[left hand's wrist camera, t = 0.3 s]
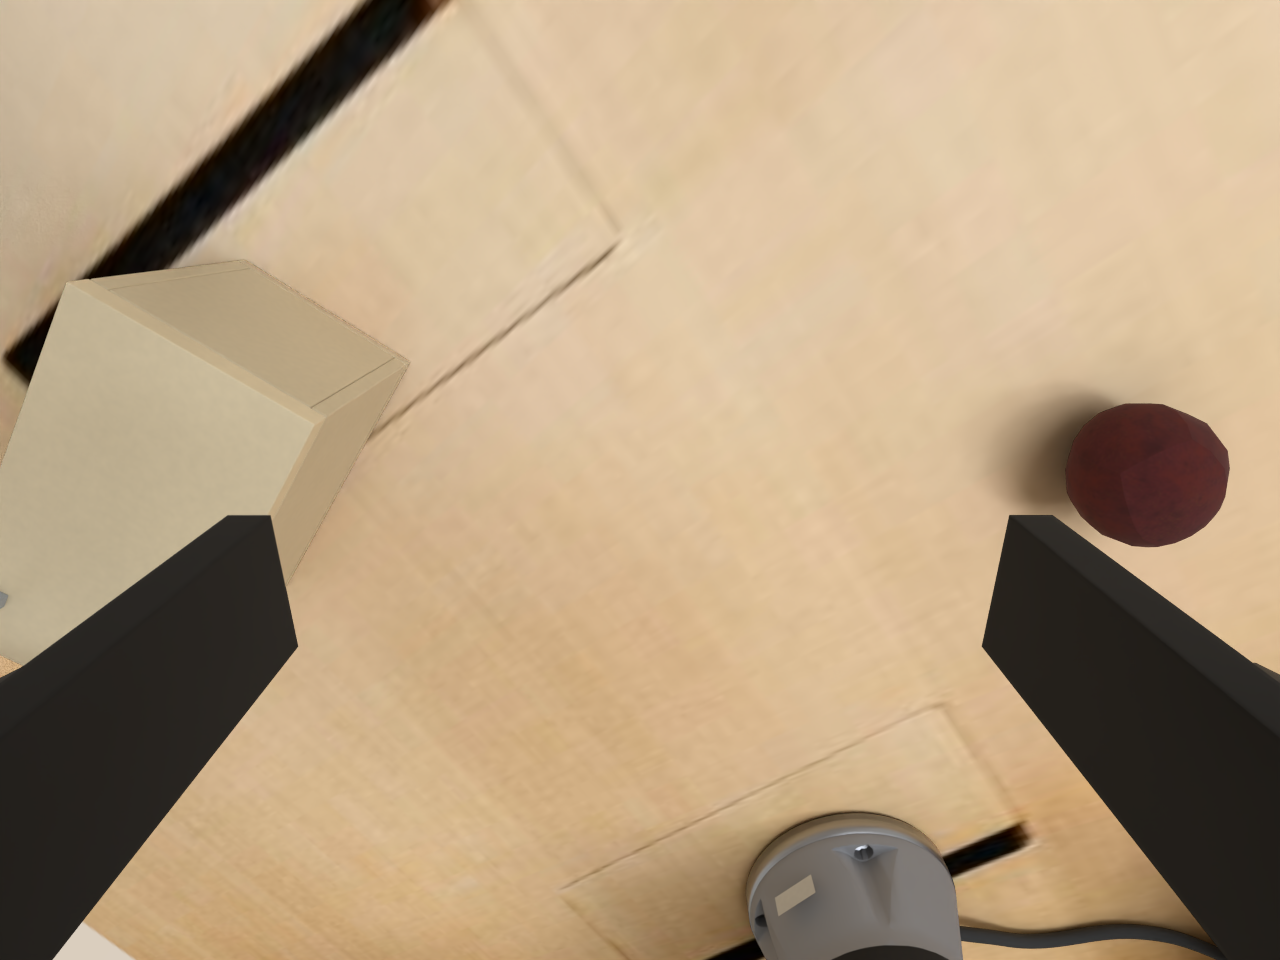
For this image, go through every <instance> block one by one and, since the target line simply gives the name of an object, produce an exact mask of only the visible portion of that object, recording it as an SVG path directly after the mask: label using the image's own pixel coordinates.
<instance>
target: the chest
mask: <svg viewBox="0 0 1280 960" xmlns="http://www.w3.org/2000/svg"><path fill="white" fill-rule="evenodd" d="M91 281H93V282H94V283H96V284H98V285H100V286H101V287H103V288H105V289H106V290H108V291H110V292H112V293H113V294H115V295H117V296H118V297H120V298H122V299H124V300H125V301H127V302H129V303H131V304H132V305H134V306H136V307H137V308H139V309H141V310H143V311H144V312H146V313H148V314H149V315H151V316H153V317H155V318H156V319H158V320H160V321H161V322H163V323H165V324H167V325H168V326H170V327H172V328H173V329H175V330H177V331H179V332H180V333H182V334H184V335H185V336H187V337H189V338H191V339H192V340H194V341H196V342H198V343H199V344H201V345H203V346H204V347H206V348H208V349H210V350H211V351H213V352H215V353H216V354H218V355H220V356H222V357H223V358H225V359H227V360H228V361H230V362H232V363H234V364H235V365H237V366H239V367H240V368H242V369H244V370H246V371H247V372H249V373H251V374H253V375H254V376H256V377H258V378H259V379H261V380H263V381H265V382H266V383H268V384H270V385H271V386H273V387H275V388H277V389H278V390H280V391H282V392H283V393H285V394H287V395H289V396H290V397H292V398H294V399H295V400H297V401H299V402H301V403H302V404H304V405H306V406H308V407H309V408H311V409H313V410H314V411H316V412H318V413H320V414H321V415H323V416H325V417H326V418H325V421H324V422H323V424H322V426H321V428H320V430H319V432H318V434H317V436H316V438H315V440H314V442H313V443H312V445H311V447H310V449H309V451H308V453H307V455H306V457H305V459H304V461H303V463H302V464H301V466H300V468H299V470H298V472H297V474H296V476H295V478H294V480H293V482H292V484H291V485H290V487H289V489H288V491H287V493H286V495H285V497H284V499H283V501H282V503H281V505H280V506H279V508H278V510H277V512H276V514H275V516H274V518H273V520H272V524H273V529H274V534H275V538H276V543H277V548H278V553H279V557H280V562H281V567H282V572H283V577H284V581H285V586H287V585H288V583H289V581H290V579H291V577H292V576H293V574H294V572H295V570H296V568H297V566H298V565H299V563H300V561H301V559H302V557H303V556H304V554H305V552H306V550H307V548H308V547H309V545H310V543H311V541H312V539H313V538H314V536H315V534H316V532H317V530H318V528H319V527H320V525H321V523H322V521H323V519H324V518H325V516H326V514H327V512H328V510H329V509H330V507H331V505H332V503H333V501H334V500H335V498H336V496H337V494H338V492H339V490H340V489H341V487H342V485H343V483H344V481H345V480H346V478H347V476H348V474H349V472H350V471H351V469H352V467H353V465H354V463H355V461H356V460H357V458H358V456H359V454H360V452H361V451H362V449H363V447H364V445H365V443H366V442H367V440H368V438H369V436H370V434H371V433H372V431H373V429H374V427H375V425H376V423H377V422H378V420H379V418H380V416H381V414H382V413H383V411H384V409H385V407H386V405H387V404H388V402H389V400H390V398H391V396H392V395H393V393H394V391H395V389H396V387H397V385H398V384H399V382H400V380H401V378H402V376H403V375H404V373H405V371H406V369H407V367H408V366H409V364H410V361H408V360H407V359H405V358H404V357H402V356H400V355H399V354H397V353H395V352H394V351H392V350H391V349H389V348H387V347H386V346H384V345H382V344H381V343H379V342H378V341H376V340H374V339H373V338H371V337H369V336H368V335H366V334H365V333H363V332H361V331H360V330H358V329H356V328H355V327H353V326H352V325H350V324H348V323H347V322H345V321H343V320H342V319H340V318H339V317H337V316H335V315H334V314H332V313H330V312H329V311H327V310H326V309H324V308H322V307H321V306H319V305H317V304H316V303H314V302H313V301H311V300H309V299H308V298H306V297H304V296H303V295H301V294H300V293H298V292H296V291H295V290H293V289H291V288H290V287H288V286H287V285H285V284H283V283H282V282H280V281H278V280H277V279H275V278H274V277H272V276H270V275H269V274H267V273H265V272H264V271H262V270H261V269H259V268H257V267H256V266H254V265H252V264H251V263H249V262H248V261H246V260H238V261H231V262H223V263H215V264H207V265H199V266H191V267H183V268H175V269H167V270H159V271H151V272H143V273H135V274H127V275H119V276H111V277H103V278H95V279H91Z"/></svg>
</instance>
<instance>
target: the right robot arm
mask: <svg viewBox="0 0 1280 960" xmlns="http://www.w3.org/2000/svg"><path fill="white" fill-rule="evenodd" d="M746 900H747V907H748V913H749V920H750V925H751V929H752V932H753V934H754V936H755V938H756V941H757V942H758V944H759V946H760V948H761V950H762V952H763V954H764V956H765V958H766V960H963V955H962V946H961V941H967V942H975V943H983V944H992V945H999V946H1006V947H1013V948H1028V949H1036V948H1053V947H1061V946H1068V945H1075V944H1081V943H1087V942H1094V941H1101V940H1110V939H1143V940H1153V941H1160V942H1166V943H1170V944H1175V945H1178V946H1182V947H1185V948H1188V949H1191V950H1194V951H1197V952H1199V953H1202V954H1204V955H1207V956H1209V957H1211V958H1214V959H1216V960H1227V958H1226V957H1225V956H1224V954H1223V953H1222V952H1221V951H1220V949H1219V948H1218V947H1216V946H1214V945H1212V944H1210V943H1207V942H1205V941H1202V940H1200V939H1197V938H1195V937H1192V936H1190V935H1187V934H1184V933H1181V932H1177V931H1174V930H1170V929H1165V928H1160V927H1154V926H1146V925H1135V924H1110V925H1099V926H1091V927H1084V928H1078V929H1072V930H1066V931H1059V932H1051V933H1040V934H1018V933H1009V932H1002V931H996V930H989V929H980V928H972V927H964V926H959V918H958V910H957V900H956V892H955V886H954V883H953V879H952V877H951V875H950V873H949V871H948V869H947V866H946V864H945V862H944V860H943V858H942V856H941V854H940V852H939V850H938V849H937V847H936V846H935V845H934V843H933V842H932V841H931V840H930V839H929V838H928V837H927V836H926V835H925V834H923V833H922V832H921V831H919V830H918V829H916V828H914V827H913V826H911V825H909V824H907V823H904V822H902V821H899V820H897V819H894V818H890V817H886V816H881V815H876V814H866V813H848V814H838V815H831V816H826V817H822V818H819V819H815V820H812V821H809V822H806V823H804V824H802V825H799V826H797V827H795V828H793V829H791V830H789V831H788V832H786V833H784V834H783V835H781V836H780V837H778V838H777V839H776V840H775V841H773V842H772V843H771V844H770V845H769V846H768V847H767V848H766V849H765V850H764V851H763V852H762V853H761V855H760V856H759V857H758V859H757V860H756V862H755V863H754V865H753V867H752V869H751V871H750V874H749V876H748V880H747V885H746Z"/></svg>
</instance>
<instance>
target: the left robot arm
mask: <svg viewBox="0 0 1280 960" xmlns="http://www.w3.org/2000/svg"><path fill="white" fill-rule="evenodd" d="M297 647H298V643H297V639H296V634H295V629H294V624H293V620H292V615H291V610H290V605H289V600H288V596H287V591H286V586H285V581H284V577H283V572H282V567H281V562H280V557H279V553H278V548H277V543H276V538H275V534H274V529H273V524H272V519H271V515H227V516H226V517H224V518H223V519H222V520H220V521H219V522H218V523H216V524H215V525H213V526H212V527H211V528H209V529H208V530H207V531H205V532H204V533H203V534H201V535H200V536H199V537H197V538H196V539H195V540H193V541H192V542H190V543H189V544H188V545H186V546H185V547H184V548H182V549H181V550H180V551H178V552H177V553H176V554H174V555H173V556H171V557H170V558H169V559H167V560H166V561H165V562H163V563H162V564H161V565H159V566H158V567H157V568H155V569H154V570H153V571H151V572H150V573H148V574H147V575H146V576H144V577H143V578H142V579H140V580H139V581H138V582H136V583H135V584H134V585H132V586H131V587H129V588H128V589H127V590H125V591H124V592H123V593H121V594H120V595H119V596H117V597H116V598H115V599H113V600H112V601H111V602H109V603H108V604H106V605H105V606H104V607H102V608H101V609H100V610H98V611H97V612H96V613H94V614H93V615H92V616H90V617H89V618H87V619H86V620H85V621H83V622H82V623H81V624H79V625H78V626H77V627H75V628H74V629H73V630H71V631H70V632H69V633H67V634H66V635H64V636H63V637H62V638H60V639H59V640H58V641H56V642H55V643H54V644H52V645H51V646H50V647H48V648H47V649H45V650H44V651H43V652H41V653H40V654H39V655H37V656H36V657H35V658H33V659H32V660H31V661H29V662H28V663H27V664H25V665H24V666H22V667H21V668H19V669H17V670H15V671H13V672H11V673H9V674H7V675H5V676H3V677H1V678H0V960H53V958H54V957H55V956H56V954H57V953H58V952H59V951H60V949H61V948H62V947H63V946H64V944H65V943H66V942H67V940H68V939H69V938H70V937H71V935H72V934H73V933H74V932H75V930H76V929H77V928H78V926H79V925H80V924H81V923H82V921H83V920H84V919H85V917H86V916H87V915H88V914H89V912H90V911H91V910H92V909H93V907H94V906H95V905H96V903H97V902H98V901H99V900H100V898H101V897H102V896H103V895H104V893H105V892H106V891H107V889H108V888H109V887H110V886H111V884H112V883H113V882H114V881H115V879H116V878H117V877H118V875H119V874H120V873H121V872H122V870H123V869H124V868H125V867H126V865H127V864H128V863H129V861H130V860H131V859H132V858H133V856H134V855H135V854H136V852H137V851H138V850H139V849H140V847H141V846H142V845H143V844H144V842H145V841H146V840H147V838H148V837H149V836H150V835H151V833H152V832H153V831H154V830H155V828H156V827H157V826H158V824H159V823H160V822H161V821H162V819H163V818H164V817H165V816H166V814H167V813H168V812H169V810H170V809H171V808H172V807H173V805H174V804H175V803H176V802H177V800H178V799H179V798H180V796H181V795H182V794H183V793H184V791H185V790H186V789H187V787H188V786H189V785H190V784H191V782H192V781H193V780H194V779H195V777H196V776H197V775H198V773H199V772H200V771H201V770H202V768H203V767H204V766H205V765H206V763H207V762H208V761H209V759H210V758H211V757H212V756H213V754H214V753H215V752H216V751H217V749H218V748H219V747H220V745H221V744H222V743H223V742H224V740H225V739H226V738H227V736H228V735H229V734H230V733H231V731H232V730H233V729H234V728H235V726H236V725H237V724H238V722H239V721H240V720H241V719H242V717H243V716H244V715H245V714H246V712H247V711H248V710H249V708H250V707H251V706H252V705H253V703H254V702H255V701H256V700H257V698H258V697H259V696H260V694H261V693H262V692H263V691H264V689H265V688H266V687H267V686H268V684H269V683H270V682H271V680H272V679H273V678H274V677H275V675H276V674H277V673H278V671H279V670H280V669H281V668H282V666H283V665H284V664H285V663H286V661H287V660H288V659H289V657H290V656H291V655H292V654H293V652H294V651H295V650H296V649H297ZM982 647H983V649H984V650H985V651H986V652H987V654H988V655H989V656H990V657H991V659H992V660H993V661H994V663H995V664H996V665H997V666H998V668H999V669H1000V670H1001V671H1002V673H1003V674H1004V675H1005V677H1006V678H1007V679H1008V680H1009V682H1010V683H1011V684H1012V686H1013V687H1014V688H1015V689H1016V691H1017V692H1018V693H1019V694H1020V696H1021V697H1022V698H1023V700H1024V701H1025V702H1026V703H1027V705H1028V706H1029V707H1030V708H1031V710H1032V711H1033V712H1034V714H1035V715H1036V716H1037V717H1038V719H1039V720H1040V721H1041V722H1042V724H1043V725H1044V726H1045V728H1046V729H1047V730H1048V731H1049V733H1050V734H1051V735H1052V736H1053V738H1054V739H1055V740H1056V742H1057V743H1058V744H1059V745H1060V747H1061V748H1062V749H1063V751H1064V752H1065V753H1066V754H1067V756H1068V757H1069V758H1070V759H1071V761H1072V762H1073V763H1074V765H1075V766H1076V767H1077V768H1078V770H1079V771H1080V772H1081V773H1082V775H1083V776H1084V777H1085V779H1086V780H1087V781H1088V782H1089V784H1090V785H1091V786H1092V787H1093V789H1094V790H1095V791H1096V793H1097V794H1098V795H1099V796H1100V798H1101V799H1102V800H1103V802H1104V803H1105V804H1106V805H1107V807H1108V808H1109V809H1110V810H1111V812H1112V813H1113V814H1114V816H1115V817H1116V818H1117V819H1118V821H1119V822H1120V823H1121V824H1122V826H1123V827H1124V828H1125V830H1126V831H1127V832H1128V833H1129V835H1130V836H1131V837H1132V838H1133V840H1134V841H1135V842H1136V844H1137V845H1138V846H1139V847H1140V849H1141V850H1142V851H1143V852H1144V854H1145V855H1146V856H1147V858H1148V859H1149V860H1150V861H1151V863H1152V864H1153V865H1154V867H1155V868H1156V869H1157V870H1158V872H1159V873H1160V874H1161V875H1162V877H1163V878H1164V879H1165V881H1166V882H1167V883H1168V884H1169V886H1170V887H1171V888H1172V889H1173V891H1174V892H1175V893H1176V895H1177V896H1178V897H1179V898H1180V900H1181V901H1182V902H1183V903H1184V905H1185V906H1186V907H1187V909H1188V910H1189V911H1190V912H1191V914H1192V915H1193V916H1194V917H1195V919H1196V920H1197V921H1198V923H1199V924H1200V925H1201V926H1202V928H1203V929H1204V930H1205V932H1206V933H1207V934H1208V935H1209V937H1210V938H1211V939H1212V940H1213V942H1214V943H1215V944H1216V946H1217V947H1218V948H1219V949H1220V951H1221V952H1222V953H1223V954H1224V956H1225V957H1226V958H1227V960H1280V675H1279V674H1277V673H1275V672H1273V671H1271V670H1269V669H1267V668H1265V667H1263V666H1261V665H1259V664H1257V663H1252V662H1251V661H1249V660H1248V659H1247V658H1245V657H1244V656H1243V655H1241V654H1240V653H1239V652H1237V651H1236V650H1235V649H1233V648H1232V647H1230V646H1229V645H1228V644H1226V643H1225V642H1224V641H1222V640H1221V639H1220V638H1218V637H1217V636H1216V635H1214V634H1213V633H1211V632H1210V631H1209V630H1207V629H1206V628H1205V627H1203V626H1202V625H1201V624H1199V623H1198V622H1197V621H1195V620H1194V619H1193V618H1191V617H1190V616H1188V615H1187V614H1186V613H1184V612H1183V611H1182V610H1180V609H1179V608H1178V607H1176V606H1175V605H1174V604H1172V603H1171V602H1169V601H1168V600H1167V599H1165V598H1164V597H1163V596H1161V595H1160V594H1159V593H1157V592H1156V591H1155V590H1153V589H1152V588H1151V587H1149V586H1148V585H1146V584H1145V583H1144V582H1142V581H1141V580H1140V579H1138V578H1137V577H1136V576H1134V575H1133V574H1132V573H1130V572H1129V571H1127V570H1126V569H1125V568H1123V567H1122V566H1121V565H1119V564H1118V563H1117V562H1115V561H1114V560H1113V559H1111V558H1110V557H1109V556H1107V555H1106V554H1104V553H1103V552H1102V551H1100V550H1099V549H1098V548H1096V547H1095V546H1094V545H1092V544H1091V543H1090V542H1088V541H1087V540H1085V539H1084V538H1083V537H1081V536H1080V535H1079V534H1077V533H1076V532H1075V531H1073V530H1072V529H1071V528H1069V527H1068V526H1067V525H1065V524H1064V523H1062V522H1061V521H1060V520H1058V519H1057V518H1056V517H1054V516H1053V515H1009V519H1008V524H1007V529H1006V534H1005V538H1004V543H1003V548H1002V553H1001V557H1000V562H999V567H998V572H997V577H996V581H995V586H994V591H993V596H992V600H991V605H990V610H989V615H988V619H987V624H986V629H985V634H984V639H983V643H982Z"/></svg>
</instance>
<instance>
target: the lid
mask: <svg viewBox="0 0 1280 960" xmlns="http://www.w3.org/2000/svg"><path fill="white" fill-rule="evenodd" d="M325 418H326V417H325V416H323V415H321V414H320V413H318V412H316V411H314V410H313V409H311V408H309V407H308V406H306V405H304V404H302V403H301V402H299V401H297V400H295V399H294V398H292V397H290V396H289V395H287V394H285V393H283V392H282V391H280V390H278V389H277V388H275V387H273V386H271V385H270V384H268V383H266V382H265V381H263V380H261V379H259V378H258V377H256V376H254V375H253V374H251V373H249V372H247V371H246V370H244V369H242V368H240V367H239V366H237V365H235V364H234V363H232V362H230V361H228V360H227V359H225V358H223V357H222V356H220V355H218V354H216V353H215V352H213V351H211V350H210V349H208V348H206V347H204V346H203V345H201V344H199V343H198V342H196V341H194V340H192V339H191V338H189V337H187V336H185V335H184V334H182V333H180V332H179V331H177V330H175V329H173V328H172V327H170V326H168V325H167V324H165V323H163V322H161V321H160V320H158V319H156V318H155V317H153V316H151V315H149V314H148V313H146V312H144V311H143V310H141V309H139V308H137V307H136V306H134V305H132V304H131V303H129V302H127V301H125V300H124V299H122V298H120V297H118V296H117V295H115V294H113V293H112V292H110V291H108V290H106V289H105V288H103V287H101V286H100V285H98V284H96V283H94V282H93V281H91V280H89V279H85V280H77V281H69V282H66V284H65V287H64V290H63V293H62V296H61V298H60V301H59V304H58V307H57V310H56V312H55V315H54V318H53V321H52V324H51V326H50V329H49V332H48V335H47V338H46V340H45V343H44V346H43V349H42V352H41V354H40V357H39V360H38V363H37V366H36V368H35V371H34V374H33V377H32V380H31V382H30V385H29V388H28V391H27V394H26V396H25V399H24V402H23V405H22V408H21V410H20V413H19V416H18V419H17V421H16V424H15V427H14V430H13V433H12V435H11V438H10V441H9V444H8V447H7V449H6V452H5V455H4V458H3V461H2V463H1V466H0V655H1V656H3V657H5V658H7V659H9V660H11V661H14V662H16V663H18V664H20V665H22V666H24V665H25V664H27V663H28V662H29V661H31V660H32V659H33V658H35V657H36V656H37V655H39V654H40V653H41V652H43V651H44V650H45V649H47V648H48V647H50V646H51V645H52V644H54V643H55V642H56V641H58V640H59V639H60V638H62V637H63V636H64V635H66V634H67V633H69V632H70V631H71V630H73V629H74V628H75V627H77V626H78V625H79V624H81V623H82V622H83V621H85V620H86V619H87V618H89V617H90V616H92V615H93V614H94V613H96V612H97V611H98V610H100V609H101V608H102V607H104V606H105V605H106V604H108V603H109V602H111V601H112V600H113V599H115V598H116V597H117V596H119V595H120V594H121V593H123V592H124V591H125V590H127V589H128V588H129V587H131V586H132V585H134V584H135V583H136V582H138V581H139V580H140V579H142V578H143V577H144V576H146V575H147V574H148V573H150V572H151V571H153V570H154V569H155V568H157V567H158V566H159V565H161V564H162V563H163V562H165V561H166V560H167V559H169V558H170V557H171V556H173V555H174V554H176V553H177V552H178V551H180V550H181V549H182V548H184V547H185V546H186V545H188V544H189V543H190V542H192V541H193V540H195V539H196V538H197V537H199V536H200V535H201V534H203V533H204V532H205V531H207V530H208V529H209V528H211V527H212V526H213V525H215V524H216V523H218V522H219V521H220V520H222V519H223V518H224V517H226V516H227V515H271V519H272V520H273V518H274V516H275V514H276V512H277V510H278V508H279V506H280V505H281V503H282V501H283V499H284V497H285V495H286V493H287V491H288V489H289V487H290V485H291V484H292V482H293V480H294V478H295V476H296V474H297V472H298V470H299V468H300V466H301V464H302V463H303V461H304V459H305V457H306V455H307V453H308V451H309V449H310V447H311V445H312V443H313V442H314V440H315V438H316V436H317V434H318V432H319V430H320V428H321V426H322V424H323V422H324V421H325Z"/></svg>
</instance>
